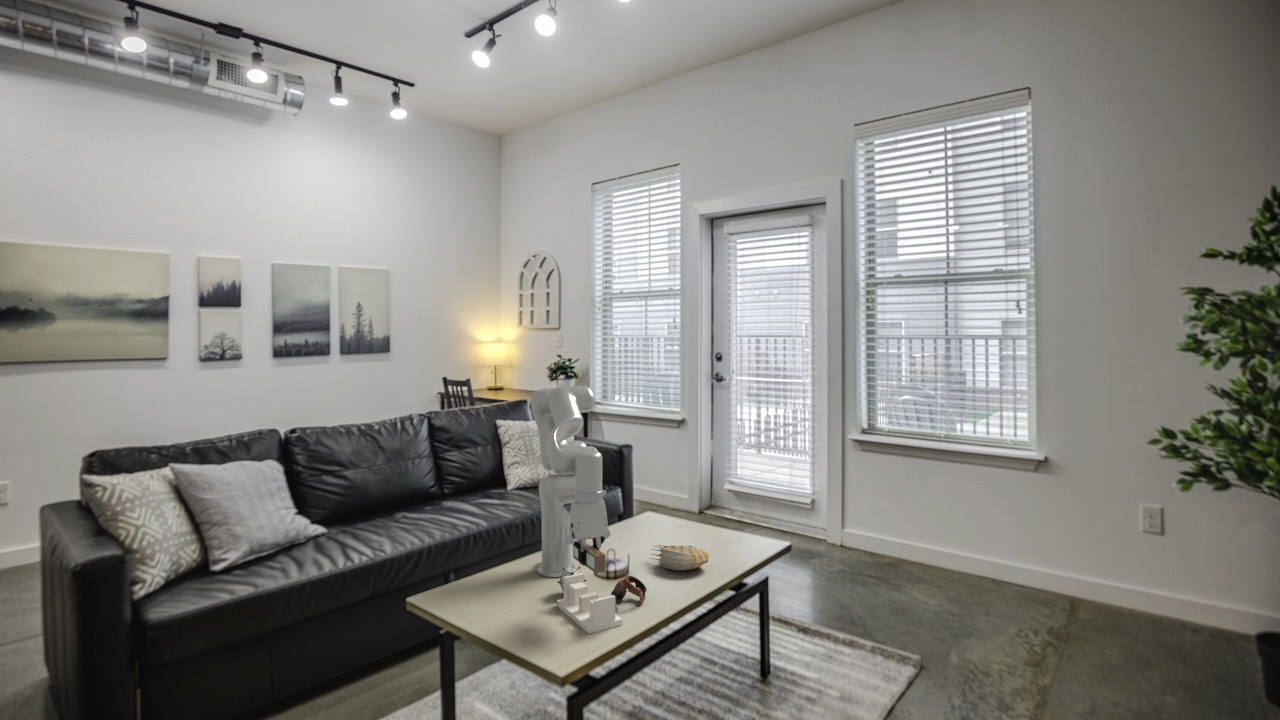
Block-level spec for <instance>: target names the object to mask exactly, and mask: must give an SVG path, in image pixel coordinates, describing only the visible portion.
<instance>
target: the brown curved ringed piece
mask: <svg viewBox="0 0 1280 720" xmlns="http://www.w3.org/2000/svg"><path fill="white" fill-rule="evenodd" d="M633 584H634V585H633ZM627 592H628V593H631V594H632V595H635V596H636V597H638V598H639V601H638V603H637V605H638V606H639V607H640V606H642V605H643V604H644V602H645V599H646V592H647V587H646V585H645V584H644V583H643V582H642V581H641V580H640V579H639V578H637V577H635V576H632V575H626V576H625V578H623V579H620V580H619V581H618V582H617V583H615V586H614V589H613V590H612V591H611V594H610V596H612V595H614V596H615V605H618V606H619V605H622V602H623V599H624V598H625V597H626V595H627Z"/></svg>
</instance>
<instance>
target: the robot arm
mask: <svg viewBox="0 0 1280 720" xmlns="http://www.w3.org/2000/svg"><path fill="white" fill-rule="evenodd" d="M595 402H596V401H595V395H594V393H593V391H592V389H591V388H590V387H589V386H587V385H568V386H567V385H564V386H557V387H549V388H548V387H546V388H541V389H537V390H535V391H534V392H533V393H532V394H531V397H530V409H531V413H532V415H533V419H534V421H535V423H536V426H537V430H538V436H539V437H538V438H539V439H538V440H539V450H540V451H539V452H540V460H541V465H542V467H543V469H544V470H546V471H549V472H551V471H553V472H554V473H555V474H550V475H546V476H544V477H542V478H541V480H540V481H539V483H538V493H539V494H538V495H539V500H540V509H541V511H540V512H541V563H540V564H539V565H537V567H536V573H538V574H539V575H540V576H543V577H548V578H561V576H562V573H563V569H562V567H564V569H577V566H576V564H575V563H573V562H572V546H573V545H574V546H575V547H576V548H577V549H578V561H577V562H579V564H580V565H582V566H584V567H586V551H585V542H586V540H592V545H591V546H592V547H594V548H595V549H597V550H599V551H600V549H601V548H602V544H604V542H605V540H607V539H608V538H609V537H610V536H611V532H610V530H609V528H608V515H607V514H608V513H607V506H606V503H605V499H604V496H607V490H606V489H603V455H602V453H601V452H600V451H598V449H597V448H596V447H595V446H592V445H591V446H590V445H587V444H586V443H585V442H584V441H581V440H568V439H569V438H571V437H574V436H575V435H577V434H579V432H580V431H581V430H582V428H583V427H584V419H583V416H582V413H590V412H592V410H593V409H594V407H595ZM565 504H571V505H570V510H569V511H568V510H567V509H566V508H565V507H564V505H565Z"/></svg>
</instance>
